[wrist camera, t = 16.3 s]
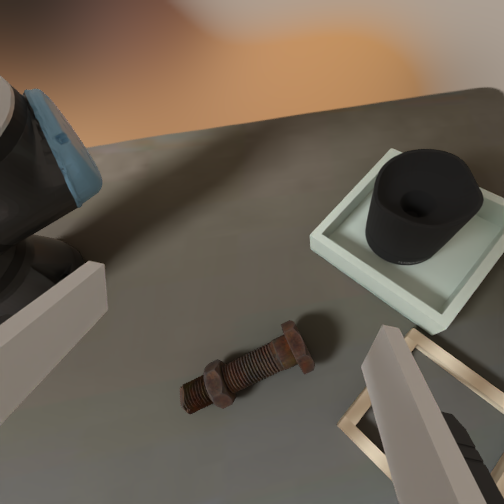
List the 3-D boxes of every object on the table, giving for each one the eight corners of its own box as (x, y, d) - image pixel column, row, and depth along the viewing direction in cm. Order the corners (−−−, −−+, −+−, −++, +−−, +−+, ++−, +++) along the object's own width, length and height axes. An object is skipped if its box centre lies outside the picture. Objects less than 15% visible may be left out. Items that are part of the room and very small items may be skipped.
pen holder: (347, 246, 37) (357, 201, 28) (383, 194, 39) (402, 137, 30) (421, 284, 33) (459, 246, 24) (455, 224, 35) (502, 169, 26)
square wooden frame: (336, 423, 30) (337, 425, 28) (409, 330, 32) (413, 327, 31) (463, 552, 24) (472, 562, 23) (541, 426, 26) (553, 428, 25)
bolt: (196, 392, 36) (303, 340, 35) (198, 433, 31) (320, 375, 31) (171, 367, 32) (288, 310, 32) (169, 410, 28) (305, 344, 28)
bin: (310, 249, 39) (309, 235, 35) (385, 168, 42) (391, 147, 38) (431, 335, 31) (446, 329, 28) (511, 229, 34) (533, 211, 31)
